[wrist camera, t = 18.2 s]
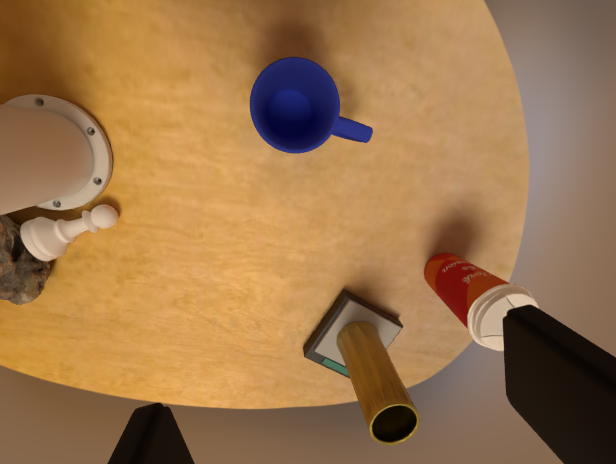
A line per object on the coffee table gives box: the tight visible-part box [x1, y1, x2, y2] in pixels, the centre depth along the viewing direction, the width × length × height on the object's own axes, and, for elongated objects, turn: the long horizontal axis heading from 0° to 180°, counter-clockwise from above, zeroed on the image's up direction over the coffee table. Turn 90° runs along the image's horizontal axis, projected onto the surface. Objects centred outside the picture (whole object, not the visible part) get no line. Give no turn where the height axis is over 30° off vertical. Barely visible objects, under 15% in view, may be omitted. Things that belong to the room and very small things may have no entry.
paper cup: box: [424, 253, 539, 351], centre depth 41 cm, size 8×8×14 cm
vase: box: [337, 321, 420, 445], centre depth 39 cm, size 6×6×14 cm
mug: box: [250, 57, 373, 153], centre depth 35 cm, size 8×12×10 cm
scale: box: [303, 290, 403, 378], centre depth 47 cm, size 10×11×3 cm
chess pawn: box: [20, 205, 118, 261], centre depth 38 cm, size 5×5×9 cm
